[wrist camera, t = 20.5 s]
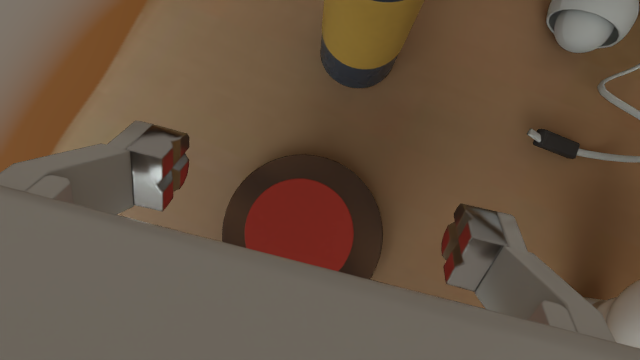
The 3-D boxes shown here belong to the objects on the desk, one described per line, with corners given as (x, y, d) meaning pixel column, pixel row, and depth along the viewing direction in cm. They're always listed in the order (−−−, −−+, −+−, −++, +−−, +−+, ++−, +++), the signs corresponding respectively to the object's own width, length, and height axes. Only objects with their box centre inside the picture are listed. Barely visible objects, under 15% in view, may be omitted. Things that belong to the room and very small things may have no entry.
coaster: (314, 349, 26) (314, 351, 25) (191, 244, 27) (188, 243, 26) (411, 222, 28) (414, 221, 27) (293, 127, 28) (292, 123, 28)
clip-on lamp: (609, 202, 31) (733, -18, 31) (684, 214, 25) (844, -63, 24) (471, 127, 31) (594, -99, 30) (512, 120, 24) (670, -167, 24)
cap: (309, 301, 26) (310, 312, 21) (236, 244, 26) (220, 241, 21) (362, 229, 27) (376, 222, 22) (291, 174, 27) (288, 156, 22)
